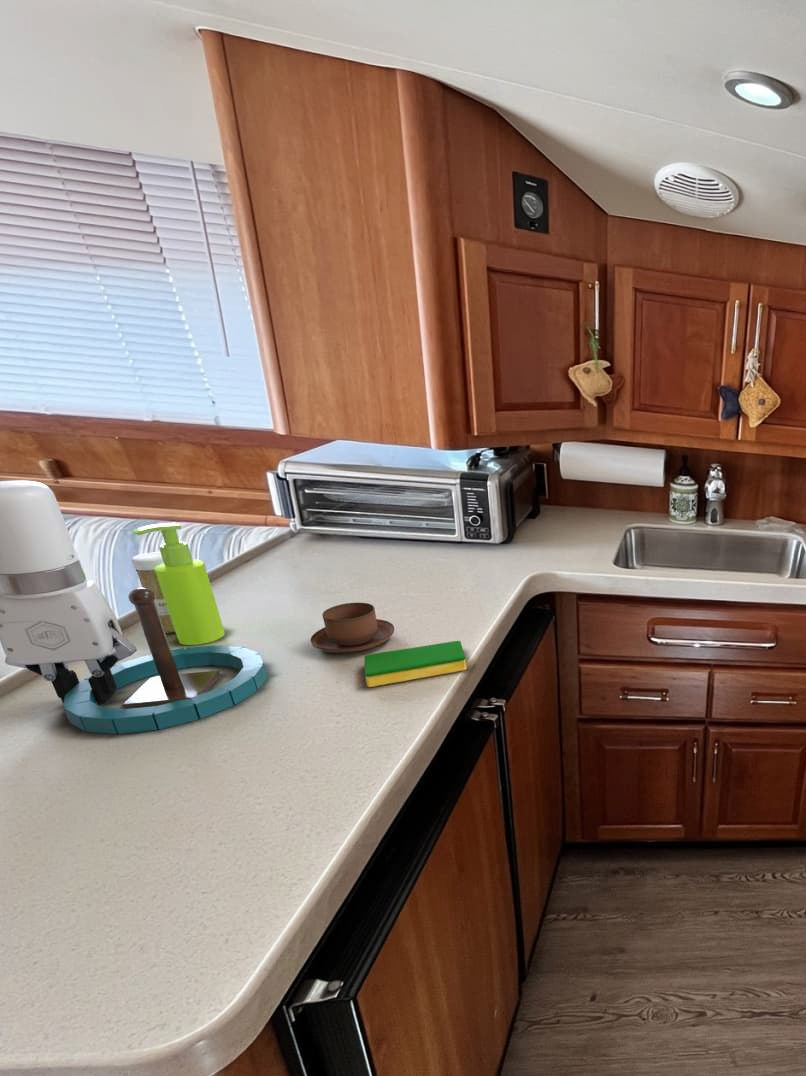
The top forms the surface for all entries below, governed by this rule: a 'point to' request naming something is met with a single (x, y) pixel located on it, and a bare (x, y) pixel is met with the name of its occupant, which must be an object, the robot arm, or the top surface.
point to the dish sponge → (414, 663)
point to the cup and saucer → (351, 629)
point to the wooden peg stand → (163, 661)
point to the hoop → (114, 720)
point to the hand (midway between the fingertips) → (90, 698)
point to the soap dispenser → (185, 589)
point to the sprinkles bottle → (153, 584)
